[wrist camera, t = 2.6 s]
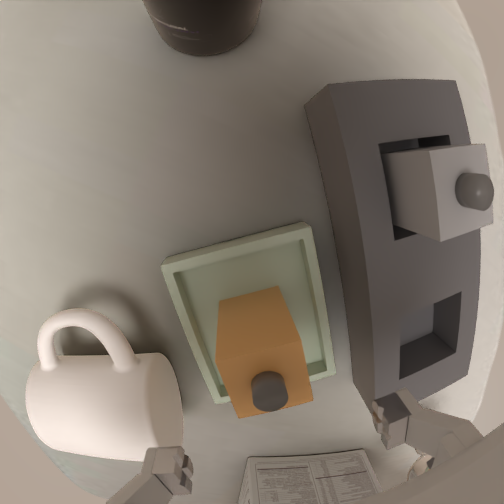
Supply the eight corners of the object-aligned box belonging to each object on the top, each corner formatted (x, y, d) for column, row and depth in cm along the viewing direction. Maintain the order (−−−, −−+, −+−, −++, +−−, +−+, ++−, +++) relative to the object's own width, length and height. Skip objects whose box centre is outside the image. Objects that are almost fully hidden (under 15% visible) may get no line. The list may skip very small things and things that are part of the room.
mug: (188, 409, 23) (178, 482, 15) (89, 408, 23) (61, 468, 15) (150, 280, 20) (110, 339, 12) (40, 293, 19) (-18, 339, 12)
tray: (166, 257, 19) (160, 266, 17) (302, 221, 19) (311, 226, 18) (216, 388, 22) (215, 404, 20) (328, 359, 22) (335, 374, 20)
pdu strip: (303, 105, 18) (329, 83, 12) (414, 94, 18) (457, 79, 13) (353, 382, 23) (375, 422, 18) (437, 347, 23) (468, 376, 18)
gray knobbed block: (362, 156, 17) (446, 149, 9) (412, 148, 17) (501, 143, 9) (374, 218, 18) (456, 248, 10) (422, 205, 18) (509, 227, 10)
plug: (219, 300, 20) (213, 377, 12) (278, 285, 20) (307, 354, 12) (235, 349, 21) (239, 434, 13) (290, 335, 21) (319, 415, 13)
